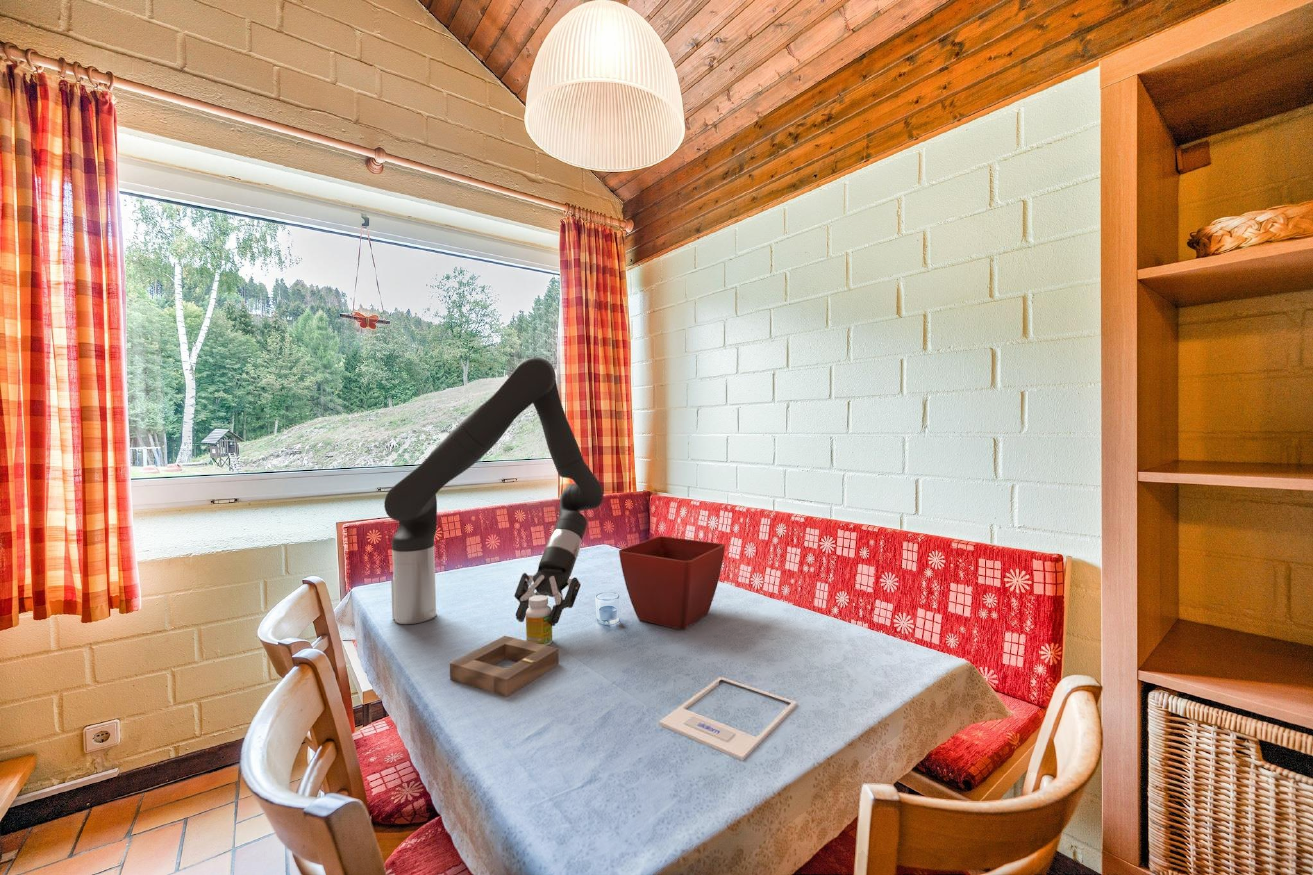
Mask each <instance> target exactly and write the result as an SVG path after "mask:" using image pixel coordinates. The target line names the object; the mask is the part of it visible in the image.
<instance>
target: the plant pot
mask: <svg viewBox="0 0 1313 875" xmlns="http://www.w3.org/2000/svg"><path fill="white" fill-rule="evenodd" d="M725 550H726V544H724V543H720V542H719V543H717V542H710V541H704V540H703V541H702V540H697V539H695V540H694V539H690V538H688V539H687V538H681V537H673V536H665V535H660V536H655V537H652V538H650V539H647V540H644V541H642V542H639V543H635V544H632V545H630V546H627V547H625V548H624V547H623V548H621V549H619V550H618V556H619V561H620V568H621V571H622V574H623V575H622V576H623V580H624V583H625V587H626V590H627V594H628V597H629V599H630V603H631V604H632V608H633V611H634V613H635V615H636V617H637V620H640V621H643V622H647V623H650V624H656V625H660V626H665V627H667V628H672V629H676V630H681V631H682V630H685V629H687V628H689V627H690V626H692V625H693V624H695V623H696V622H697V621H699V620H700V619H702V618H703V617H705V616H707V615H708V613H709V612H710V609H711V607H712V604H713V601H714V597H715V594H716V590H717V587H718V584H719V581H720V576H721V571H722V568H723V567H722V566H723V562H724V556H725Z"/></svg>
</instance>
